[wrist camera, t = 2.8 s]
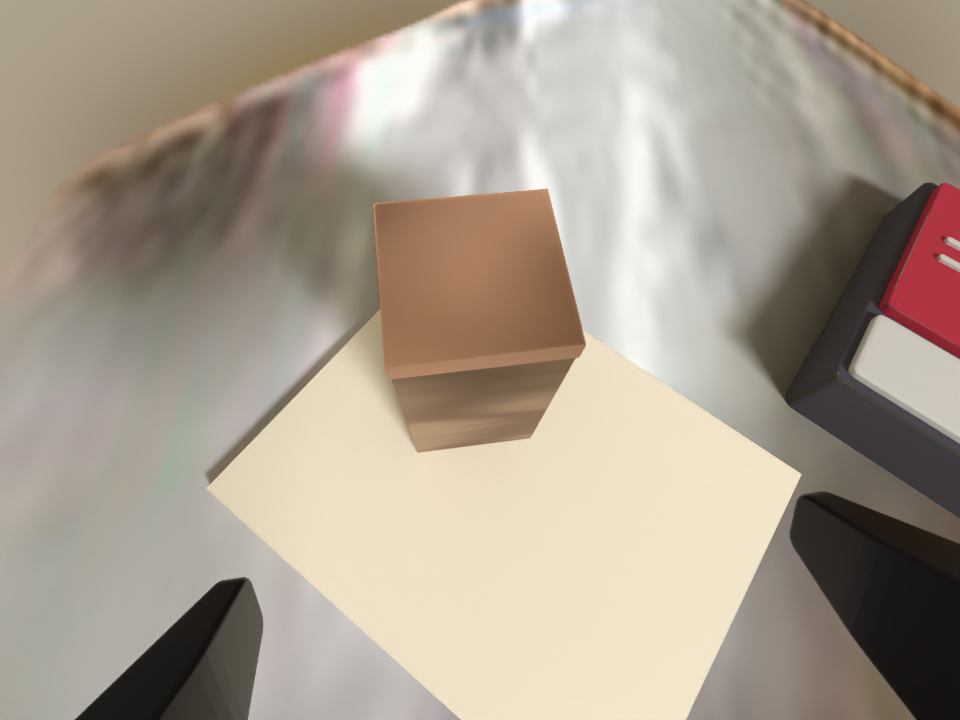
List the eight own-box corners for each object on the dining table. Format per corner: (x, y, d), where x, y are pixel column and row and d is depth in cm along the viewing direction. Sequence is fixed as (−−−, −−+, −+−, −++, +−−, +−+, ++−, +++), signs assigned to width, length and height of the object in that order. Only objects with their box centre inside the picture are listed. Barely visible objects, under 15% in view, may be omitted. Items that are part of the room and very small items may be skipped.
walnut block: (512, 336, 24) (547, 188, 14) (531, 439, 22) (586, 345, 12) (407, 347, 23) (372, 203, 14) (416, 454, 21) (384, 368, 12)
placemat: (793, 476, 22) (801, 474, 21) (613, 852, 17) (618, 862, 16) (446, 247, 26) (446, 240, 26) (213, 490, 21) (206, 488, 20)
